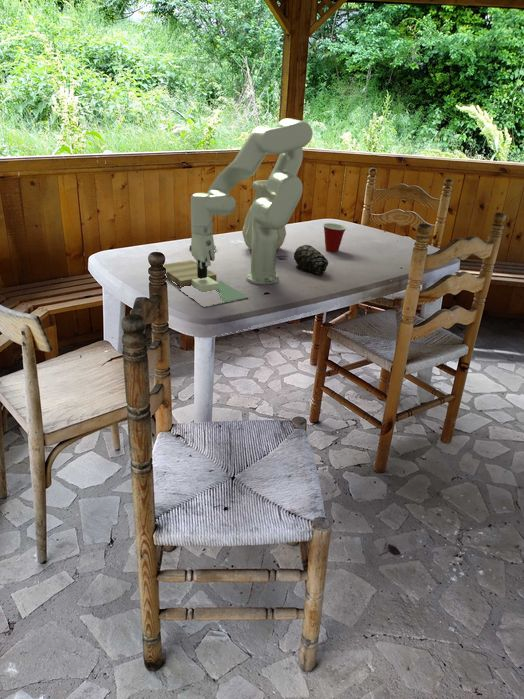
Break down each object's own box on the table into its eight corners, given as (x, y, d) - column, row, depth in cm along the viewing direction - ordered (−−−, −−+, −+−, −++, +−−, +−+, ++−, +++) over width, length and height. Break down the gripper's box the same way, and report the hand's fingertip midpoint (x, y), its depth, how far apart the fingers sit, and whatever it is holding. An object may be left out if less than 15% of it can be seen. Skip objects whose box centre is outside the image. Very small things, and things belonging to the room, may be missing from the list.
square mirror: (247, 298, 199) (247, 297, 199) (204, 307, 190) (204, 306, 190) (221, 282, 213) (221, 281, 213) (179, 290, 204) (179, 288, 204)
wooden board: (216, 282, 213) (216, 274, 212) (181, 288, 205) (181, 281, 204) (192, 267, 228) (191, 260, 226) (158, 272, 220) (158, 265, 219)
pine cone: (319, 279, 221) (321, 254, 217) (288, 267, 233) (289, 244, 228) (336, 274, 228) (338, 250, 223) (305, 262, 239) (307, 240, 235)
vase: (232, 247, 254) (233, 180, 240) (265, 241, 266) (268, 176, 253) (261, 259, 241) (264, 188, 227) (294, 251, 253) (298, 184, 239)
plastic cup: (348, 253, 254) (351, 227, 248) (327, 255, 250) (330, 229, 245) (337, 246, 263) (339, 221, 257) (316, 248, 259) (319, 222, 254)
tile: (218, 289, 205) (218, 283, 204) (202, 292, 201) (202, 286, 200) (207, 282, 211) (207, 276, 209) (191, 285, 207) (191, 279, 206)
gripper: (221, 232, 194) (221, 282, 202) (201, 223, 205) (201, 270, 213) (202, 235, 190) (203, 285, 198) (182, 225, 201) (184, 273, 209)
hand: (202, 277), depth 206 cm, fingers closed
